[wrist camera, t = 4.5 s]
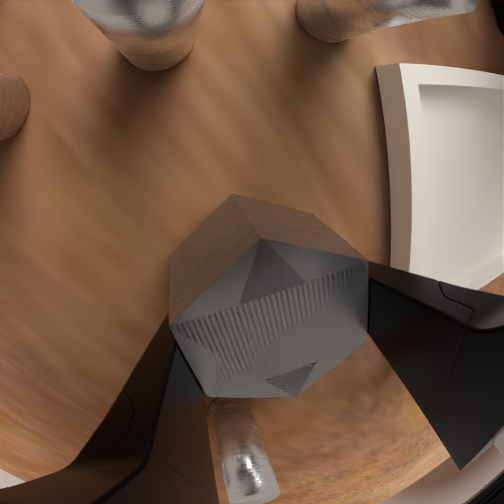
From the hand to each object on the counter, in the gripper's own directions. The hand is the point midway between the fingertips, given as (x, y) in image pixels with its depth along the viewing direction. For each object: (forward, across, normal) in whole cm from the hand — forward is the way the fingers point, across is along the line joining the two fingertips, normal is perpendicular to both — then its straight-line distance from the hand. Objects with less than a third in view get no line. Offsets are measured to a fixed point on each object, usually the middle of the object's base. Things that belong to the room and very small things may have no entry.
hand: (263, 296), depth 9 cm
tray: (+3, -13, 0) cm, 13 cm away
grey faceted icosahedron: (+2, 0, 0) cm, 2 cm away
